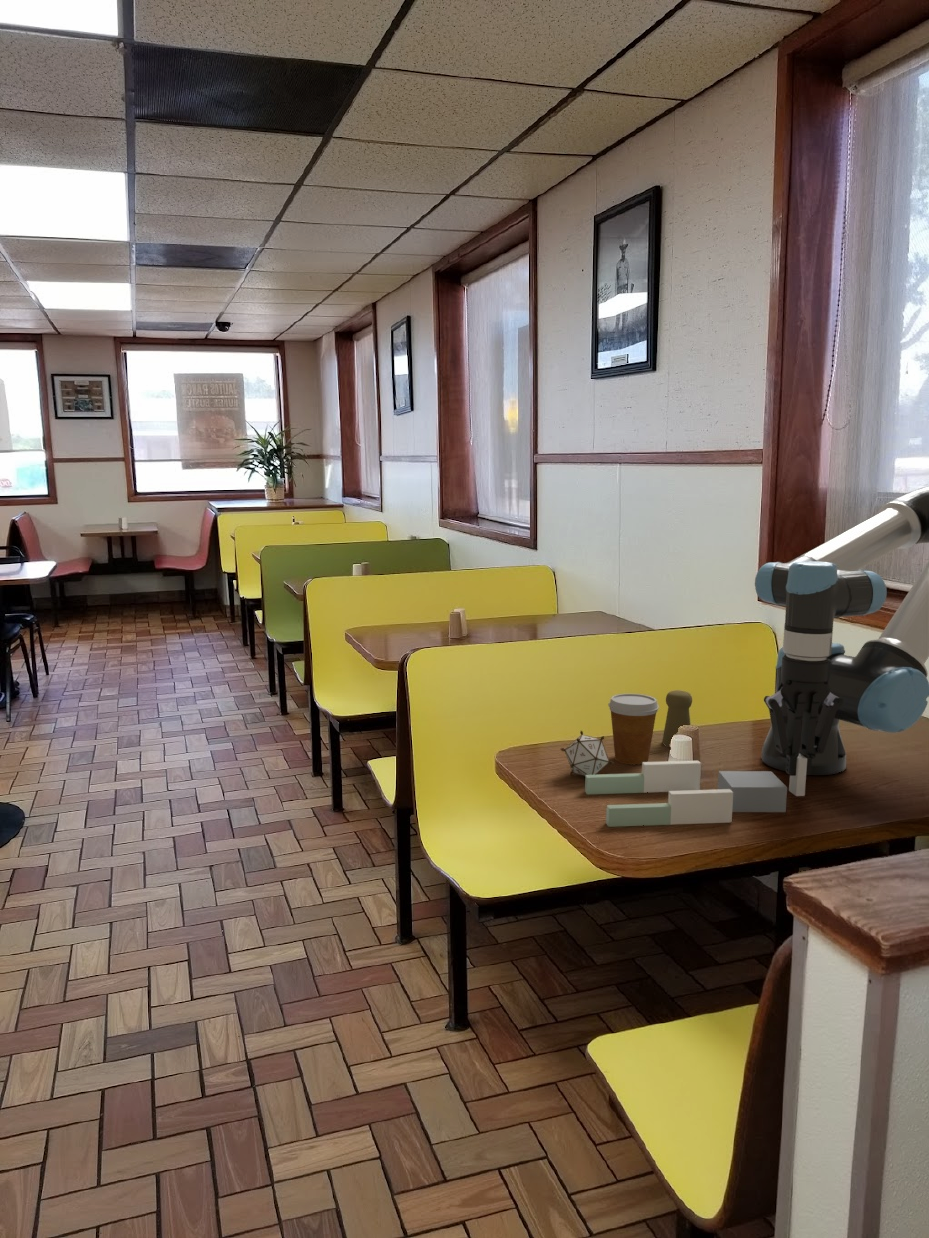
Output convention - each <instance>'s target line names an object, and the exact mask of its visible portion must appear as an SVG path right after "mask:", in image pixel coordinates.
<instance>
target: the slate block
mask: <svg viewBox="0 0 929 1238" xmlns="http://www.w3.org/2000/svg"><path fill="white" fill-rule="evenodd" d="M717 789H730V790H731V791H732V792H733V807H732V813H786V810H787V795H788V787H787V786H786V784H784V783H783V781H781V780H780V778H779V777H777V775H776V774H774V772H773V771H768V770H767V771H766V770H765V771H764V770H763V771H762V770H761V771H760V770H757V771H756V770H755V771H754V770H750V771H749V770H746V771H745V770H744V771H743V770H739V771H738V770H737V771H735V770H728V771H727V770H724V771H723V770H718V779H717Z"/></svg>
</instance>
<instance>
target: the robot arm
mask: <svg viewBox="0 0 929 1238" xmlns="http://www.w3.org/2000/svg"><path fill="white" fill-rule="evenodd" d="M925 543H926V544H929V485H927V486H924V487H920V488H918V489H915V490H912V491H910V492H907V493H905V494H903V495H900V496H898V497H896V498H893V499H892V500H890V501H889V502H887V503H884V504H882V506H880V507H879V509H878V511H877V512H876V515H874V516H872V517H870V518H869V519H867V520H866V519H865V521H863V522H861V523H859V524H857V525H855V526H853V527H851V528H850V529H847V530H846V531H844V532H842V533H840V534H839V535H837V536H835V537H833V538H831V539H829V540H827V541H826V542H824V543H822V544H820V545H818V546H816V547H815V548H813V549H811V550H809V551H807V552H805V553H803V554H801V555H800V556H798V557H796V558H794V559H792V560H789V561H788V562H784V563H783V562H781V561H776V562H766V563H765V564H763V565H761V566H760V568H759V569H758V570H757V572H756V575H755V579H754V588H755V589H754V590H755V593H756V594H757V595H756V596H758V598H759V599H760V600H762V601H763V602H766V603H770V604H773V605H775V606H778V607H779V606H784V607H785V615H784V616H785V618H784V619H785V620H784V628H783V639H782V640H783V641H782V647H780V648H779V651H778V653H777V659H776V666H775V677H774V678H775V681H774V682H775V684H774V693H773V694H771V696H769V695H766V696H764V698H763V702H764V703H765V705H766V707H767V709H768V712H769V717H770V723H771V724H770V728H769V730H768V733H767V735H766V737H765V740H764V742H763V744H762V746H761V761H762V763H764V764H765V765H766V766H769V767H771V768H773V769H776V770H779V771H782V772H785V773H786V774H787V775H789V785H788V791H789V792H790V793H791V794H793V795H794V796H796V797H805V795H806V784H807V783H806V780H807V776H827V775H835V774H839V772H840V773H842V772H844V771H845V770H846V768H847V753H846V750H845V746H844V743H843V737H842V735H841V731H840V727H839V726H840V725H839V723H840V721H843V722H845V723H850V724H853V725H857V726H860V727H864V728H866V729H868V730H872V731H877V732H879V731H880V732H883V733H884V732H885V733H890V734H891V733H893V734H895V733H900V732H903V731H906V730H908V729H910V728H911V727H913V726H914V725H915V724H916V723H917V722H918V721H919V719H920V718H921V717H922V716H923V714H924V712H925V711H926V708H927V705H928V703H929V701H928V700H927V698H929V680H928V674H929V673H928V670H927V667H926V665H925V664H926V662H927V660H928V659H929V560H928V561H927V563H926V565H925V566H924V568H923V569H922V570H921V572H920V573H919V575H918V576H917V579H916V580H915V582H914V583H913V584H912V586H911V588H910V589H909V591H908V592H907V594H906V596H905V597H904V598H903V600H902V602H901V603H900V604H899V605H898V606H899V607H898V608H896V611H895V612H894V614H893V615H892V616H891V619H890V620H889V622H888V623H887V624H886V627H885V628H884V629H883V631H882V632H881V634H880V636H878V638H876V639H872V640H871V639H870V640H867V641H866V642H865V643H864V644H863V645H862V646H861V648H860V650H859V651H858V653H857V654H856V656H853V655H852V656H851V655H847V654H846V650H845V646H844V645H843V644H841V643H838V642H837V643H835V642H833V635H834V634H833V633H834V631H833V630H834V619H837V618H845V617H856V616H857V617H863V616H866V615H869V614H873V613H876V612H879V610H880V609H881V608H883V605H884V604H885V602H886V600H887V585H886V583H885V581H884V579H883V578H882V576H881V575H880V574H878V573H877V572H874V571H871V570H863V569H864V568H865V567H867V566H869V565H871V564H872V563H874V562H876V561H878V560H879V559H881V558H883V557H885V556H886V555H889V554H890V553H892V552H893V551H895V550H897V549H898V550H905V549H906V550H907V549H909V548H911V547H914V545H915V546H916V545H918V544H925ZM861 569H862V570H861ZM845 654H846V655H845ZM841 771H842V772H841Z"/></svg>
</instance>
